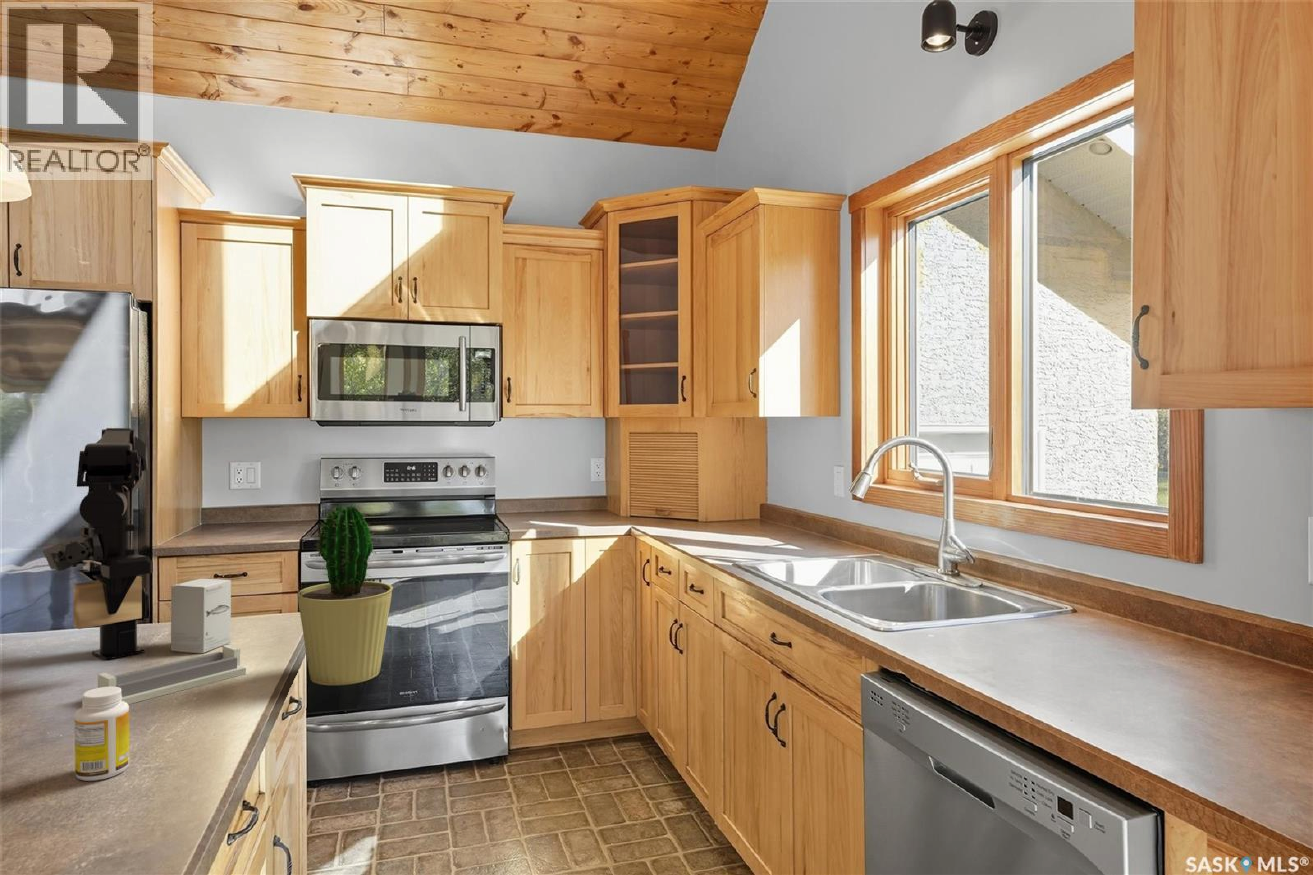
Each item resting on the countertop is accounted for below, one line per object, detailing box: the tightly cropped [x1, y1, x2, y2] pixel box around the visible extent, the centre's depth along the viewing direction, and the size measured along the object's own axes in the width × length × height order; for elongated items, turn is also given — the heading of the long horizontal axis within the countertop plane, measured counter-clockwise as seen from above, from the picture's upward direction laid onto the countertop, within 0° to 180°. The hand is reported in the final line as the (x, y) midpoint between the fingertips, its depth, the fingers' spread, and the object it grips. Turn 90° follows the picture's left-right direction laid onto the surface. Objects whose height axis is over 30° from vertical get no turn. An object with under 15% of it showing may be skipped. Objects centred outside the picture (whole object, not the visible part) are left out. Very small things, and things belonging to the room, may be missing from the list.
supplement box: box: [170, 578, 232, 654], centre depth 150 cm, size 7×7×13 cm
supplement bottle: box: [74, 686, 131, 782], centre depth 97 cm, size 6×6×10 cm
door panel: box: [72, 575, 143, 630], centre depth 129 cm, size 2×9×7 cm, turn 145°
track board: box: [97, 644, 247, 705], centre depth 129 cm, size 8×20×4 cm, turn 146°
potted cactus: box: [297, 504, 394, 686], centre depth 135 cm, size 15×15×30 cm
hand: (108, 612), depth 129 cm, fingers closed on door panel, 2 cm apart
